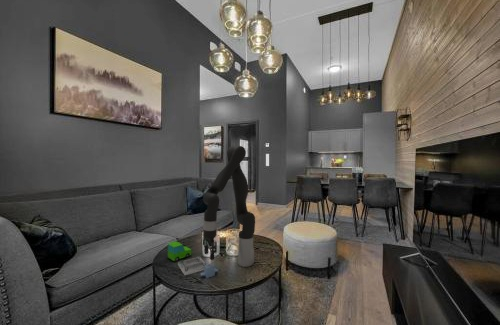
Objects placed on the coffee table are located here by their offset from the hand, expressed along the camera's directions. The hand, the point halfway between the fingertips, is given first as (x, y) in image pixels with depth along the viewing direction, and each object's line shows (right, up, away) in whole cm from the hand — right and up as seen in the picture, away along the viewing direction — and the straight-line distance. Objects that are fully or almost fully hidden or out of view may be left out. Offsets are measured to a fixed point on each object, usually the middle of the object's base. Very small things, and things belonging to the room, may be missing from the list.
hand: (209, 256), depth 122 cm
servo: (0, -11, 0) cm, 11 cm away
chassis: (-12, -10, +9) cm, 18 cm away
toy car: (-24, -10, +22) cm, 34 cm away
